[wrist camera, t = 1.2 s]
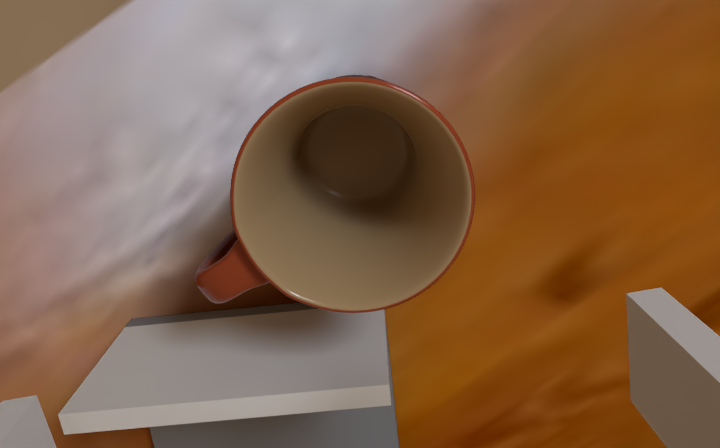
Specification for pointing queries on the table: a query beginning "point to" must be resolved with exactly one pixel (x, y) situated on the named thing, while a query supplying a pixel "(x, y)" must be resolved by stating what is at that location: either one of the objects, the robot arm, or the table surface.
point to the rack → (245, 380)
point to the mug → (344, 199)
